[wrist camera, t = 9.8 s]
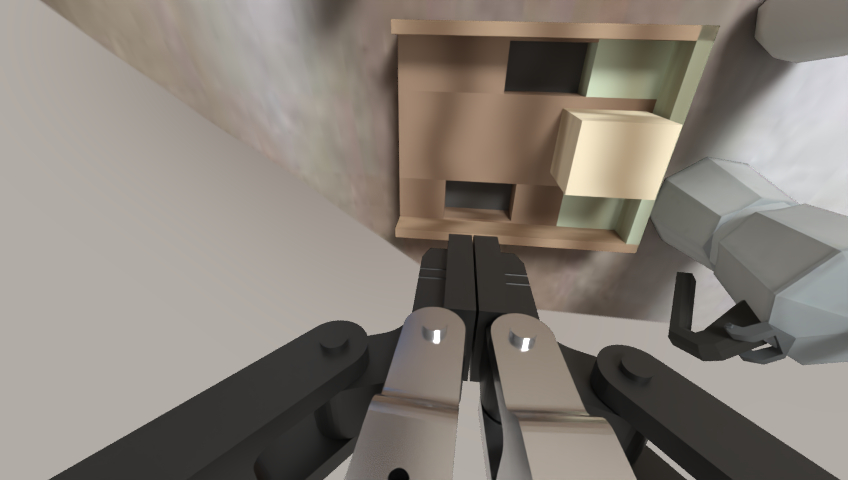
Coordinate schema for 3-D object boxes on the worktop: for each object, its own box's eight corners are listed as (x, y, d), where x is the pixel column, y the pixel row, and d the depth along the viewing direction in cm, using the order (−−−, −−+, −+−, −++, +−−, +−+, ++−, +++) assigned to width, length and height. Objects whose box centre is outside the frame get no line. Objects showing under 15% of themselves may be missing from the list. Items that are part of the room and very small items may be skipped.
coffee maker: (770, 119, 28) (1167, 217, 12) (797, 204, 31) (1143, 372, 15) (587, 215, 33) (697, 369, 17) (625, 280, 36) (747, 461, 20)
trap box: (404, 212, 35) (395, 236, 30) (402, 23, 27) (391, 19, 23) (613, 225, 33) (635, 253, 29) (676, 28, 25) (719, 25, 21)
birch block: (549, 172, 29) (564, 195, 25) (563, 108, 26) (582, 120, 22) (625, 176, 28) (654, 200, 24) (646, 111, 26) (682, 125, 22)
